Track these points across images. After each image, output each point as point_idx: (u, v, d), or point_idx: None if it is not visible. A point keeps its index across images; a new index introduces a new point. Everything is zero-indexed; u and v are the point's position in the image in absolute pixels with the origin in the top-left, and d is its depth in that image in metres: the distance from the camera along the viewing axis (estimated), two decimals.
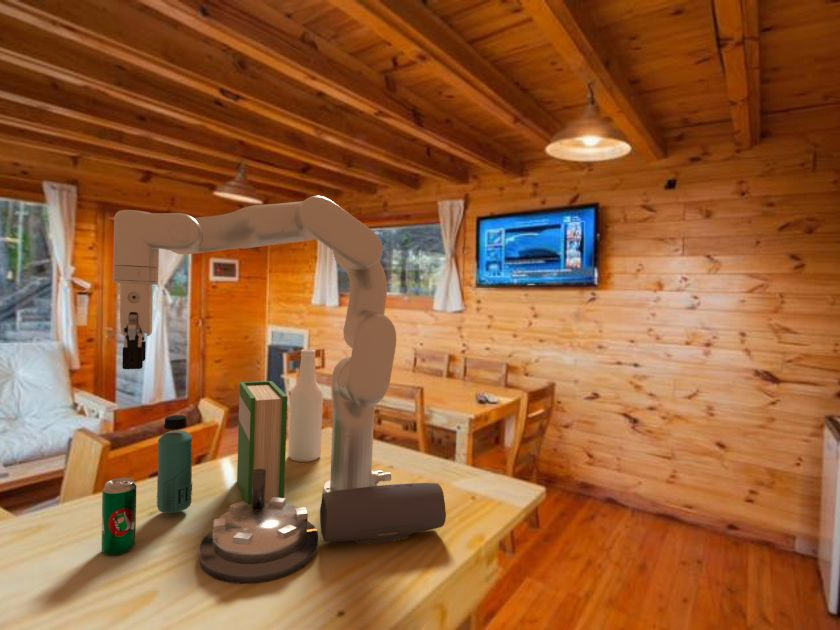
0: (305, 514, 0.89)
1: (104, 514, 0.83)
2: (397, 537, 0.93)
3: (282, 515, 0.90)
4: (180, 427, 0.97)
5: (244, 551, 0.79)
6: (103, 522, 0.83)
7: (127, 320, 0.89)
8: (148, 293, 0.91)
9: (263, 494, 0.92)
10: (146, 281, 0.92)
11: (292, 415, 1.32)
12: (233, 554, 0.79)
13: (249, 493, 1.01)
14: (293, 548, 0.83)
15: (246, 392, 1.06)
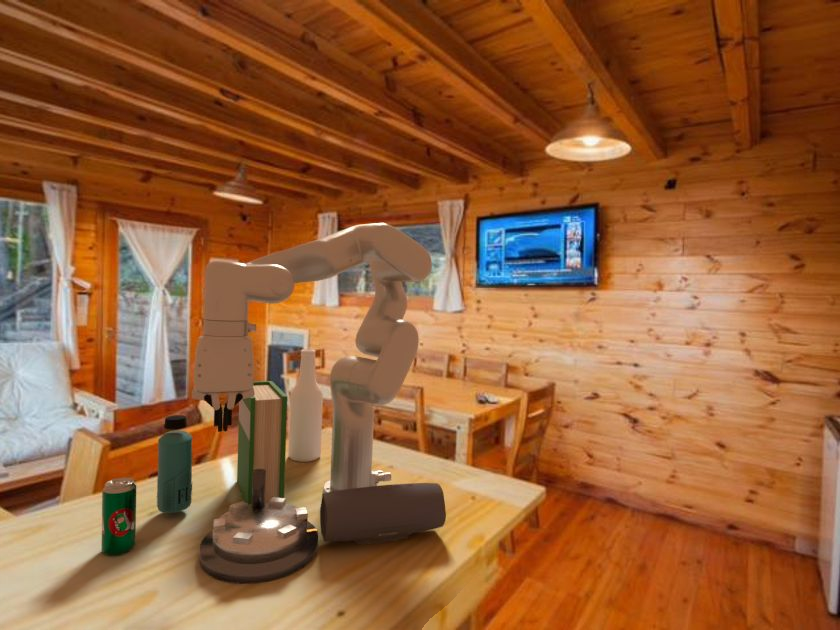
0: (305, 514, 0.89)
1: (104, 514, 0.83)
2: (397, 537, 0.93)
3: (282, 515, 0.90)
4: (180, 427, 0.97)
5: (244, 551, 0.79)
6: (103, 522, 0.83)
7: (253, 374, 0.90)
8: None
9: (263, 494, 0.92)
10: None
11: (292, 415, 1.32)
12: (233, 554, 0.79)
13: (249, 493, 1.01)
14: (293, 548, 0.83)
15: None
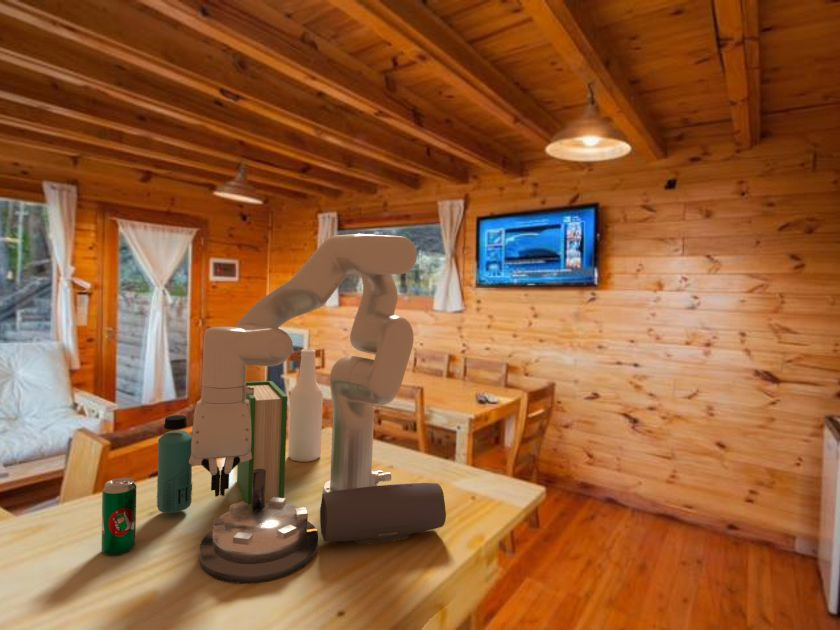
0: (305, 514, 0.89)
1: (104, 514, 0.83)
2: (397, 537, 0.93)
3: (282, 515, 0.90)
4: (180, 427, 0.97)
5: (244, 551, 0.79)
6: (103, 522, 0.83)
7: None
8: None
9: (263, 494, 0.92)
10: None
11: (292, 415, 1.32)
12: (233, 554, 0.79)
13: (249, 493, 1.01)
14: (293, 548, 0.83)
15: None
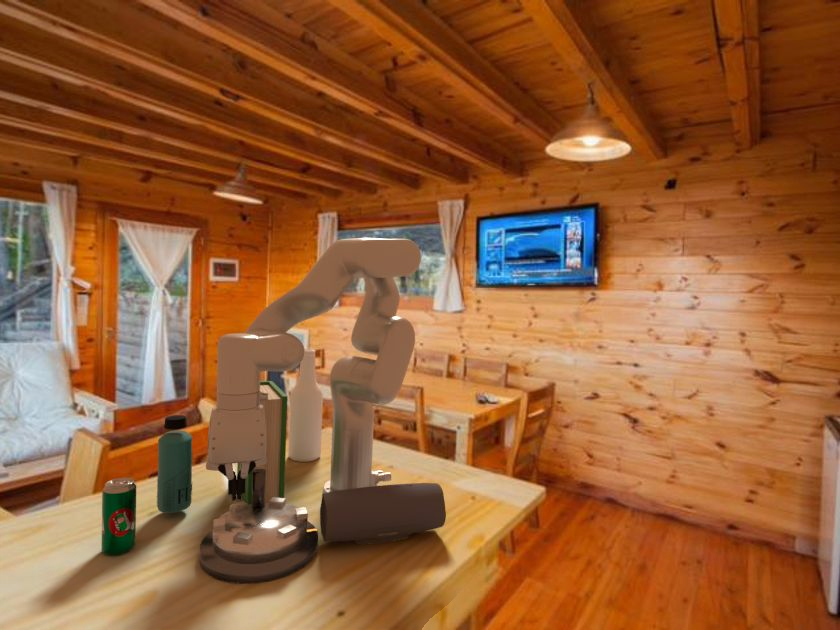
0: (305, 514, 0.89)
1: (104, 514, 0.83)
2: (397, 537, 0.93)
3: (282, 515, 0.90)
4: (180, 427, 0.97)
5: (244, 551, 0.79)
6: (103, 522, 0.83)
7: None
8: None
9: (263, 494, 0.92)
10: None
11: (292, 415, 1.32)
12: (233, 554, 0.79)
13: (249, 493, 1.01)
14: (293, 548, 0.83)
15: None
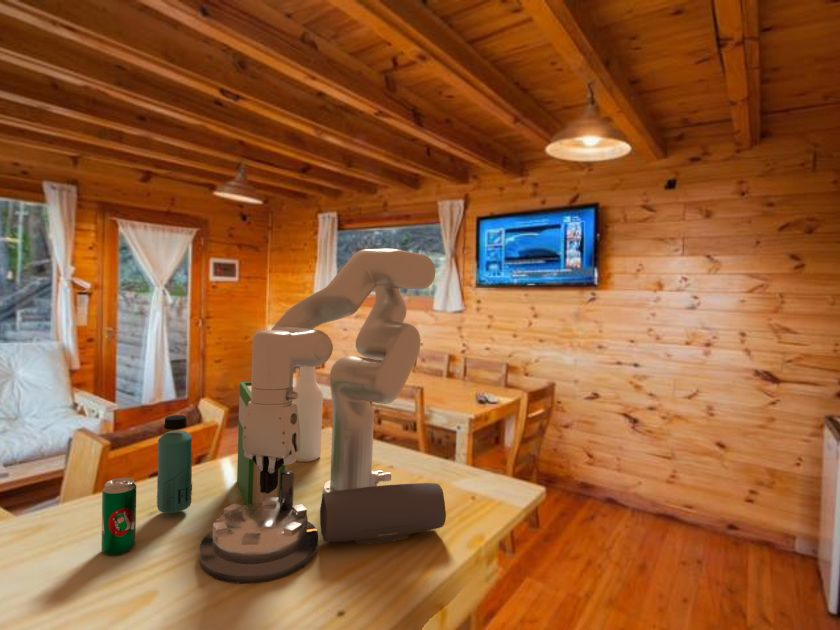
0: (289, 531, 0.83)
1: (104, 514, 0.83)
2: (397, 537, 0.93)
3: (282, 524, 0.86)
4: (180, 427, 0.97)
5: (215, 540, 0.82)
6: (103, 522, 0.83)
7: (291, 442, 0.91)
8: None
9: (287, 497, 0.92)
10: None
11: None
12: None
13: (249, 493, 1.01)
14: (254, 559, 0.79)
15: (246, 392, 1.06)
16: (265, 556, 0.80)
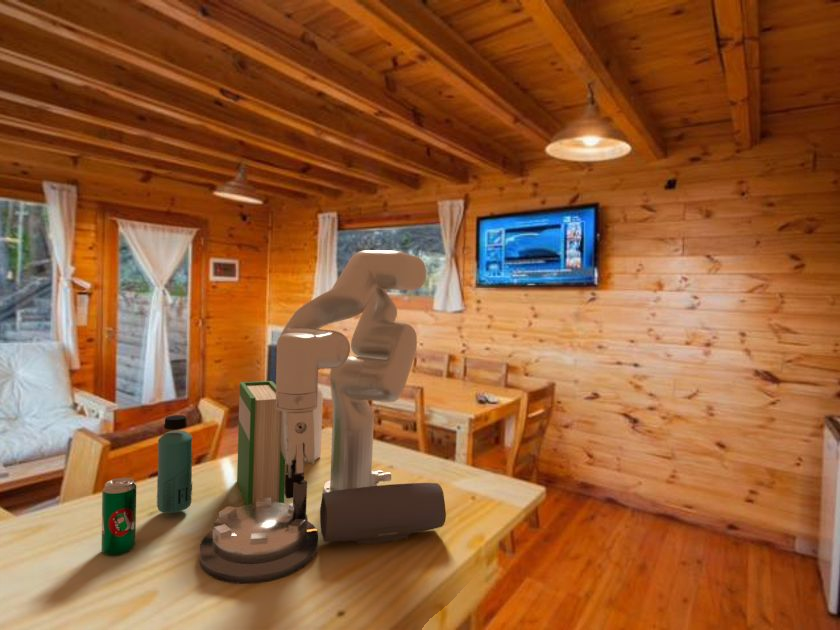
0: (250, 539, 0.79)
1: (104, 514, 0.83)
2: (397, 537, 0.93)
3: (267, 531, 0.84)
4: (180, 427, 0.97)
5: None
6: (103, 522, 0.83)
7: (294, 452, 0.86)
8: (313, 421, 0.88)
9: (294, 507, 0.88)
10: (310, 407, 0.89)
11: None
12: None
13: (249, 493, 1.01)
14: (218, 551, 0.81)
15: (246, 392, 1.06)
16: (225, 553, 0.80)
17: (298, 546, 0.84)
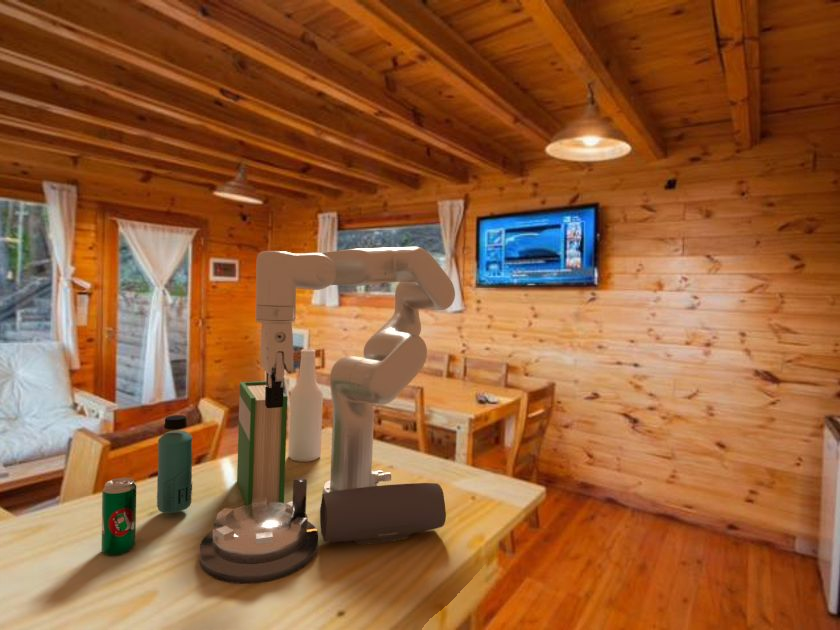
0: (256, 539, 0.80)
1: (104, 514, 0.83)
2: (397, 537, 0.93)
3: (269, 531, 0.84)
4: (180, 427, 0.97)
5: None
6: (103, 522, 0.83)
7: (274, 359, 0.91)
8: (291, 332, 0.93)
9: (295, 505, 0.88)
10: (288, 320, 0.94)
11: (292, 415, 1.32)
12: None
13: (249, 493, 1.01)
14: (221, 553, 0.80)
15: (246, 392, 1.06)
16: (229, 555, 0.80)
17: (301, 544, 0.85)
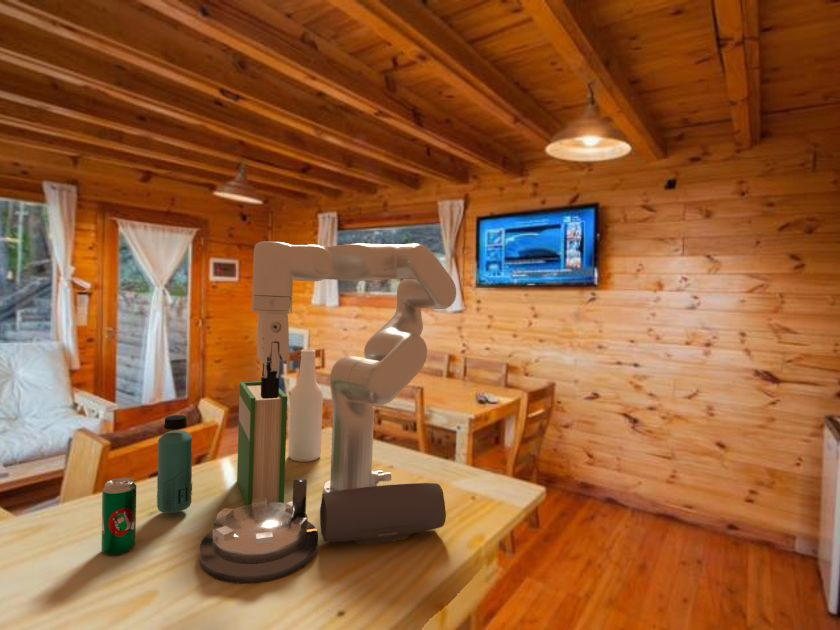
0: (256, 539, 0.80)
1: (104, 514, 0.83)
2: (397, 537, 0.93)
3: (269, 531, 0.84)
4: (180, 427, 0.97)
5: None
6: (103, 522, 0.83)
7: (270, 349, 0.91)
8: (287, 322, 0.93)
9: (295, 505, 0.88)
10: (285, 310, 0.94)
11: (292, 415, 1.32)
12: None
13: (249, 493, 1.01)
14: (221, 553, 0.80)
15: (246, 392, 1.06)
16: (229, 555, 0.80)
17: (301, 544, 0.85)
